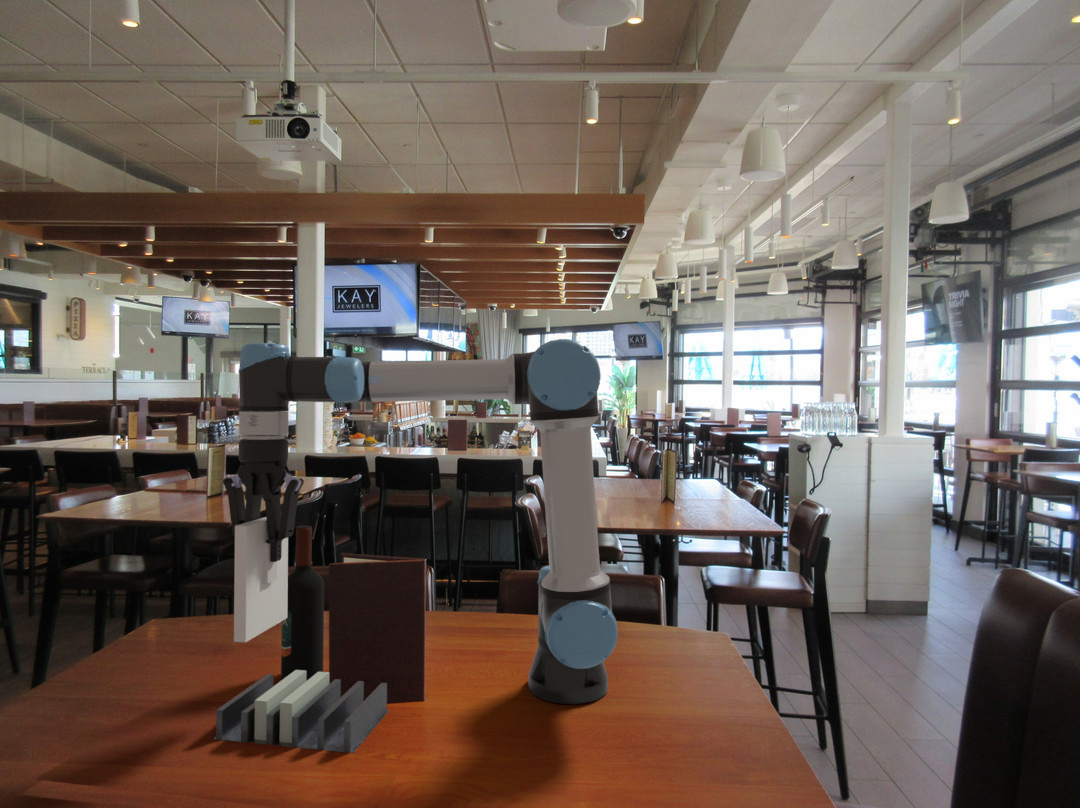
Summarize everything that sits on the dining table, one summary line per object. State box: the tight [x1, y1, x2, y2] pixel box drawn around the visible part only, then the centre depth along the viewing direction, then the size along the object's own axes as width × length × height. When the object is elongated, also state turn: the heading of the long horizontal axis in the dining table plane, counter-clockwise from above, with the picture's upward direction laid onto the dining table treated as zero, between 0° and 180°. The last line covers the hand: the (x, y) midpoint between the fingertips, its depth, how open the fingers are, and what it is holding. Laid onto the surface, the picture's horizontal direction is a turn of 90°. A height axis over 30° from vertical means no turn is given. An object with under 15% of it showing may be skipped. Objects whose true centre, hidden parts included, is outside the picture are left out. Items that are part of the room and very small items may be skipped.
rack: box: [213, 673, 390, 754], centre depth 106 cm, size 23×14×6 cm, turn 81°
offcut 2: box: [280, 671, 330, 743], centre depth 106 cm, size 2×12×6 cm, turn 171°
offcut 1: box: [254, 670, 307, 740], centre depth 107 cm, size 2×12×6 cm, turn 171°
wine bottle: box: [280, 525, 325, 681], centre depth 125 cm, size 8×8×30 cm
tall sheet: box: [233, 516, 289, 643], centre depth 108 cm, size 2×12×18 cm, turn 171°
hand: (262, 580), depth 108 cm, fingers closed on tall sheet, 2 cm apart
